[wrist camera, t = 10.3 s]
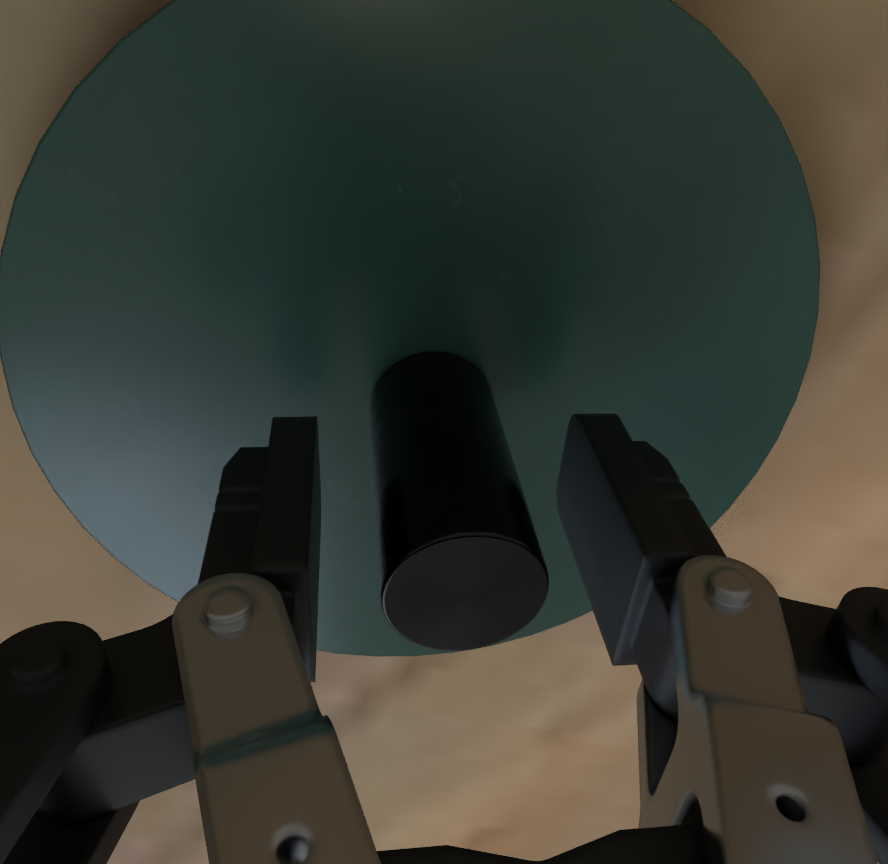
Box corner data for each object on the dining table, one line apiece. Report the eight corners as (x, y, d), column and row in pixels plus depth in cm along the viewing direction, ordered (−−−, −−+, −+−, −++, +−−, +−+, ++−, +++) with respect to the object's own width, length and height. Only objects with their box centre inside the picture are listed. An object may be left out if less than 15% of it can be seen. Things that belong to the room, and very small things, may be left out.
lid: (-114, -117, 10) (-589, -154, 5) (920, -41, 12) (1346, -9, 7) (112, 634, 19) (27, 899, 14) (683, 607, 21) (793, 830, 16)
